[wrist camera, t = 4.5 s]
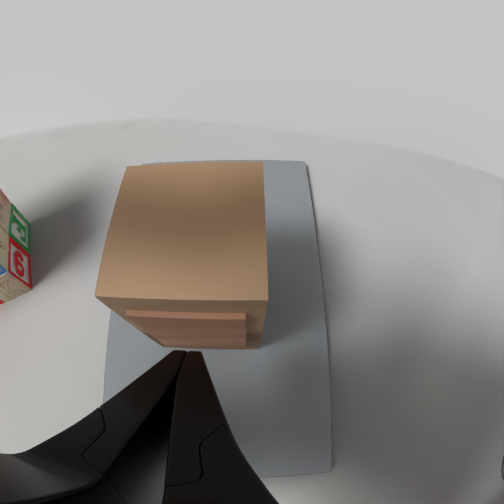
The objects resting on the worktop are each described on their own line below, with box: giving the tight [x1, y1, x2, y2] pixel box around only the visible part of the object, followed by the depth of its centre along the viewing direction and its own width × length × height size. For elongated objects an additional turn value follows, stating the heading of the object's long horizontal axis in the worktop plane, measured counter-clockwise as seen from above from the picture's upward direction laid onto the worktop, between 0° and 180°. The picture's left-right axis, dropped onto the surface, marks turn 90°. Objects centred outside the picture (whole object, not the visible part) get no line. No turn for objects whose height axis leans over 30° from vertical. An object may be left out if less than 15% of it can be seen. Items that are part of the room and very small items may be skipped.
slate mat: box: [103, 160, 332, 477], centre depth 17 cm, size 20×12×1 cm, turn 1°
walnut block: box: [95, 161, 268, 349], centre depth 13 cm, size 5×5×8 cm
